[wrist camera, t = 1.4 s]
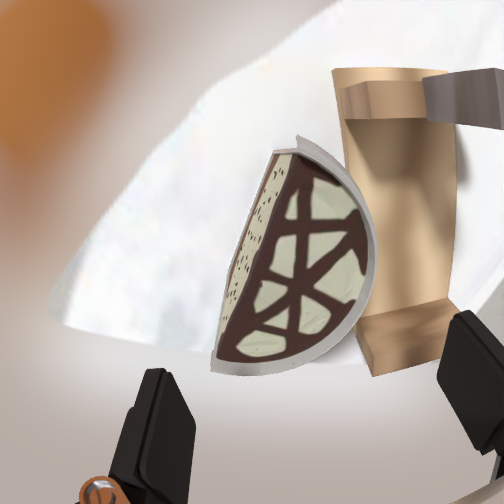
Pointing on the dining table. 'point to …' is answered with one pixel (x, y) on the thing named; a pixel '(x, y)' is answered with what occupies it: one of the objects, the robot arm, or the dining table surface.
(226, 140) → the dining table surface
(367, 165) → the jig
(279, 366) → the food container
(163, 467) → the robot arm
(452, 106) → the block
